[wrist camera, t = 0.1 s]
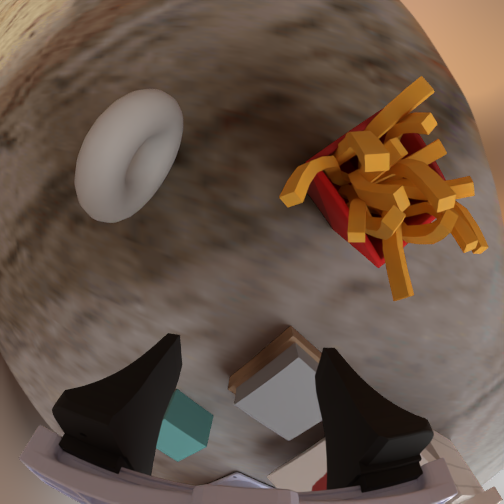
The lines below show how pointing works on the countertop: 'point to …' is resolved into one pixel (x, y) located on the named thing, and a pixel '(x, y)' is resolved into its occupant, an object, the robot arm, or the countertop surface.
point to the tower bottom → (272, 356)
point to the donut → (128, 154)
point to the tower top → (283, 394)
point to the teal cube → (183, 427)
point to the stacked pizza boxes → (469, 489)
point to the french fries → (388, 188)
